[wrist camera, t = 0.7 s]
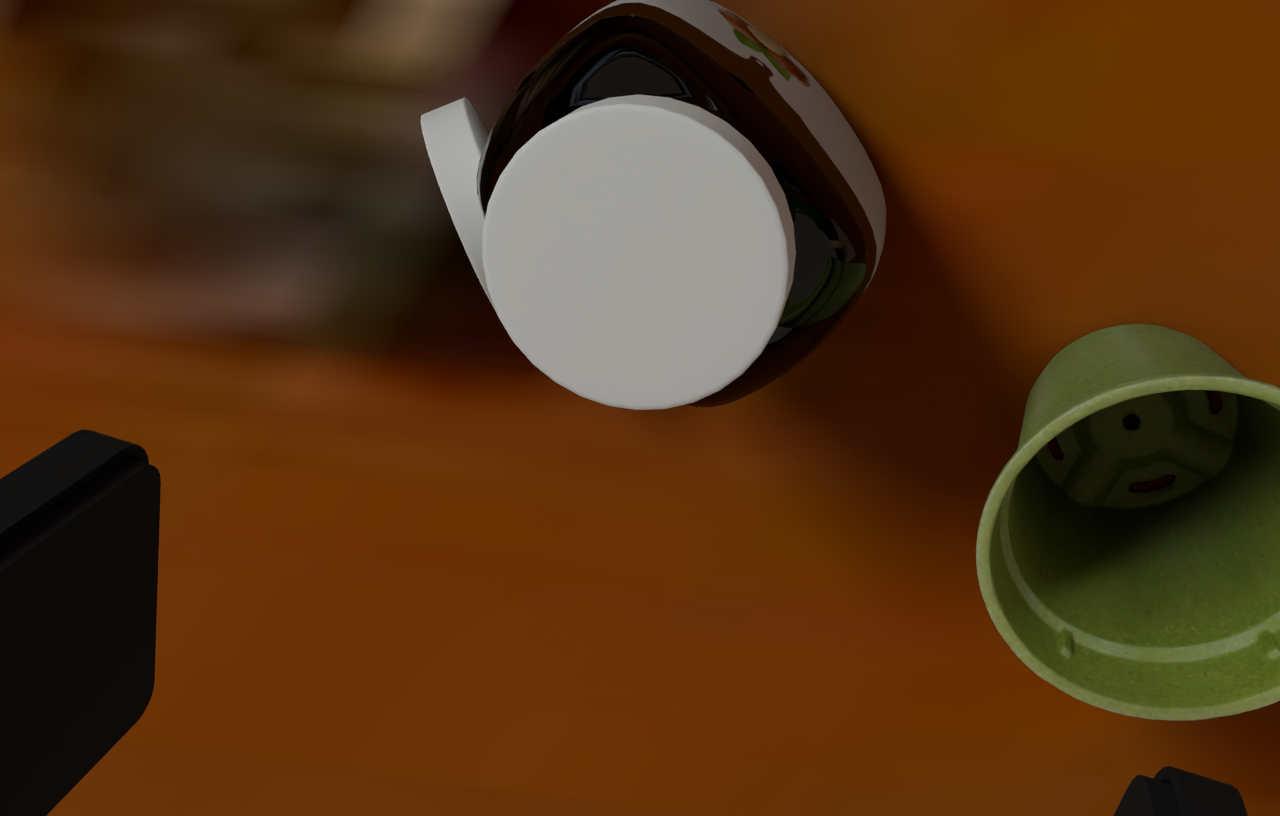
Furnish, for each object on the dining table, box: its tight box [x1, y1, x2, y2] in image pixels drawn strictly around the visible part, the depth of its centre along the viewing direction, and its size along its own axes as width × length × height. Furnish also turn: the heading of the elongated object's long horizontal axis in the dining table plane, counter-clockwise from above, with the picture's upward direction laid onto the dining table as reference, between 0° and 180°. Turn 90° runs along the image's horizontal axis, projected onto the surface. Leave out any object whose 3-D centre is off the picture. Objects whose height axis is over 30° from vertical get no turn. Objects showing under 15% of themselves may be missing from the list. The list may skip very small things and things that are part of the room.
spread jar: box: [421, 0, 886, 410], centre depth 32 cm, size 12×11×12 cm
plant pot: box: [976, 324, 1280, 721], centre depth 33 cm, size 9×9×9 cm
